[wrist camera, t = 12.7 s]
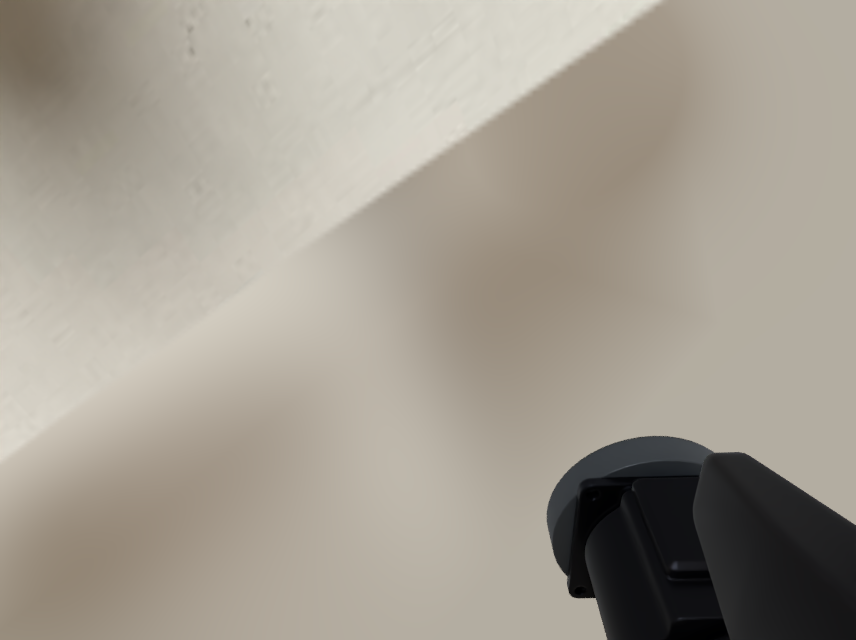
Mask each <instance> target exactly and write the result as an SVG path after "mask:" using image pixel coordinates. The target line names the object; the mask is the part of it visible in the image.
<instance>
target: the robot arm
mask: <svg viewBox="0 0 856 640" xmlns="http://www.w3.org/2000/svg"><path fill="white" fill-rule="evenodd" d="M591 490H595V491H594V492H589V491H591ZM567 587H568V591H569V594H570V595H571V596H572V597H574V598H596V600H597V604H598V607H599V611H600V615H601V618H602V622H603V625H604V629H605V632H606V636H607V640H856V525H854V524H853V523H851V522H850V521H848V520H847V519H845V518H844V517H842V516H841V515H839V514H838V513H836V512H835V511H833V510H832V509H830V508H829V507H827V506H826V505H824V504H822V503H821V502H819V501H818V500H816V499H815V498H813V497H812V496H810V495H809V494H807V493H806V492H804V491H803V490H801V489H800V488H798V487H797V486H795V485H793V484H792V483H790V482H789V481H787V480H786V479H784V478H783V477H781V476H780V475H778V474H776V473H775V472H774V471H772V470H770V469H769V468H768V467H766V466H764V465H763V464H761V463H759V462H758V461H757V460H755V459H754V458H752V457H751V456H749V455H747V454H745V453H740V452H730V453H729V452H728V453H711V454H709V455H708V456H707V457H706V458H705V459H704V462H703V465H702V469H701V473H700V475H685V476H645V477H605V478H588V479H585V480H583V481H582V482H581V483H580V484H579V486H578V489H577V498H576V507H575V516H574V524H573V533H572V542H571V550H570V559H569V568H568V576H567Z"/></svg>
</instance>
